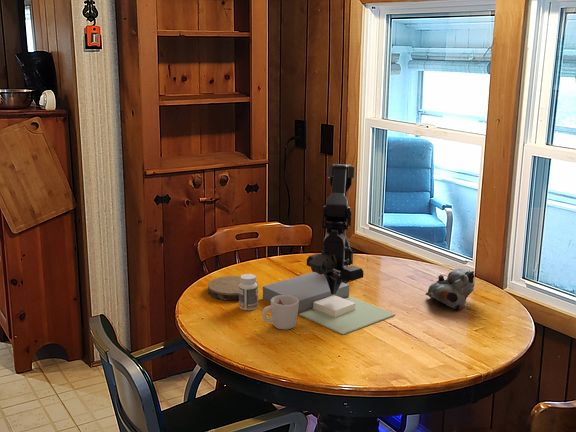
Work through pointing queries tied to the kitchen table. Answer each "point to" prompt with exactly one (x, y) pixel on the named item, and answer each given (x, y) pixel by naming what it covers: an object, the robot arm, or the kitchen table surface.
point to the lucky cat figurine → (453, 288)
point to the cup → (282, 311)
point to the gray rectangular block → (304, 290)
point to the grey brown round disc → (225, 288)
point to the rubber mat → (349, 317)
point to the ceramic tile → (334, 305)
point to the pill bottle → (248, 292)
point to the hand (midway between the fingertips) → (333, 294)
